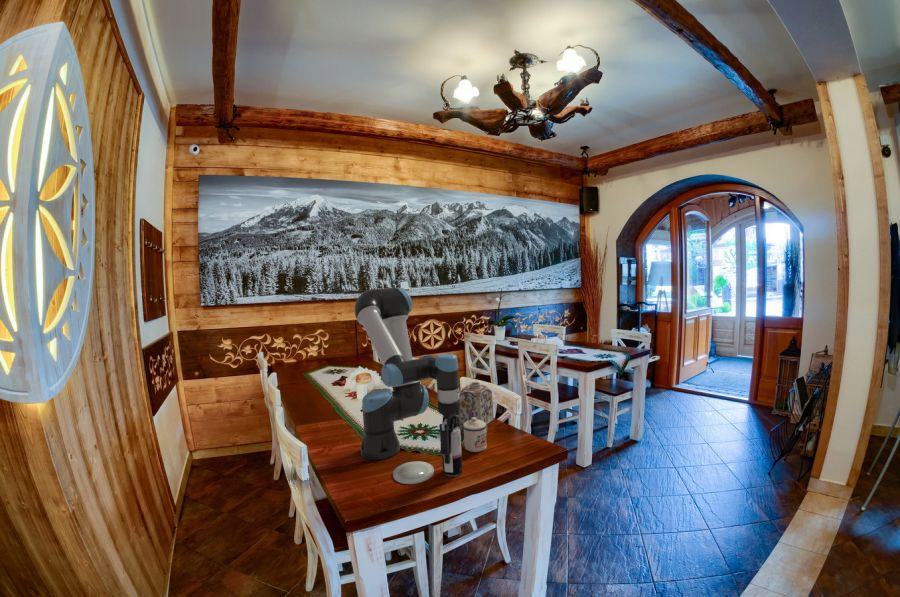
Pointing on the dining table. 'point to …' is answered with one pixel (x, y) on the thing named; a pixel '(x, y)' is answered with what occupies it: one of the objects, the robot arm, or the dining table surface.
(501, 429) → the dining table surface
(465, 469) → the dining table surface
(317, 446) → the dining table surface
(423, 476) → the plate
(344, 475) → the dining table surface
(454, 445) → the beverage can
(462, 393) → the decorative jar
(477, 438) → the teacup with lid
